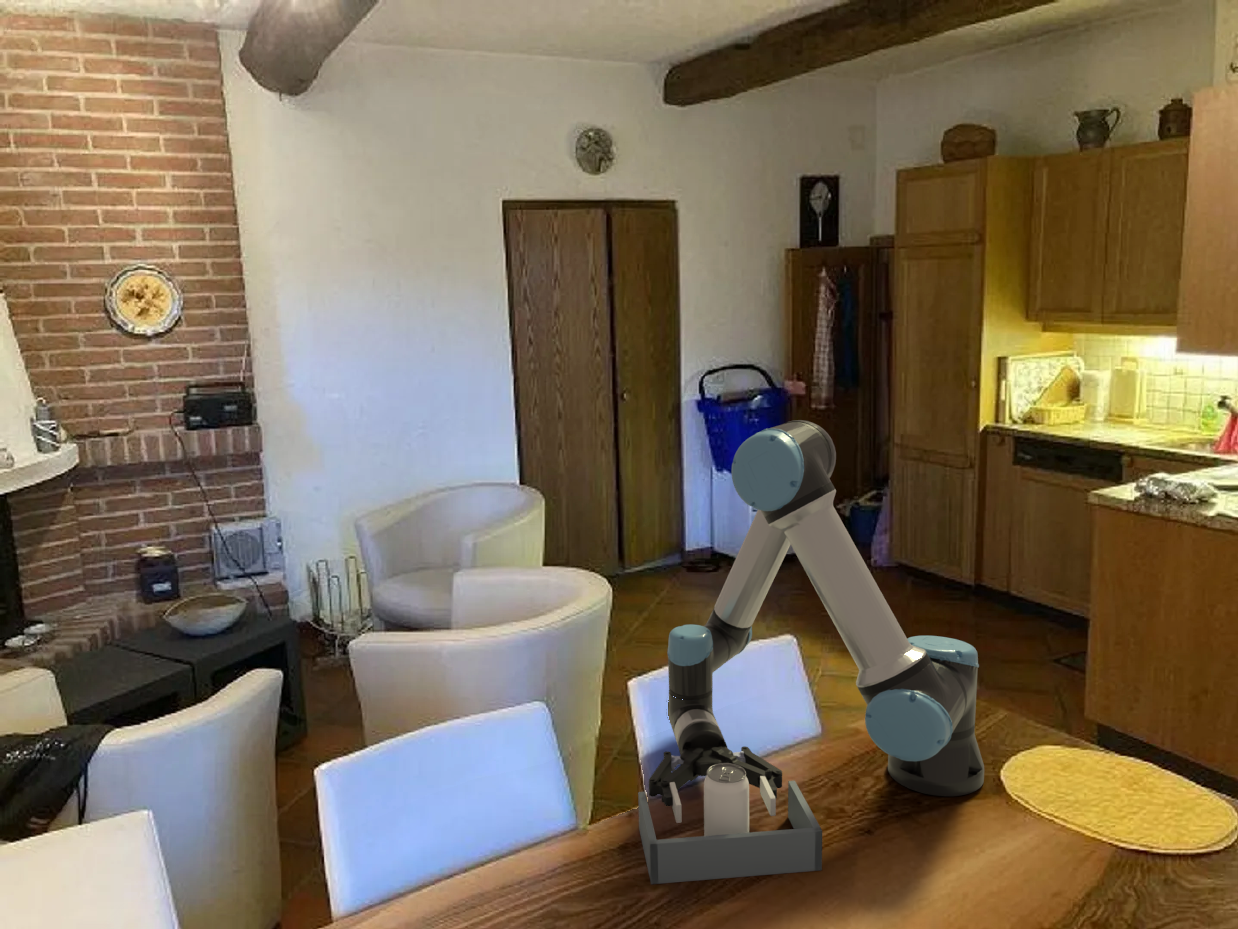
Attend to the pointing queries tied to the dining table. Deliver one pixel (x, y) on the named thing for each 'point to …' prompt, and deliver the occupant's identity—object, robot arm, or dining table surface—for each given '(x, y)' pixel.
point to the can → (726, 800)
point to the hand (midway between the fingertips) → (726, 810)
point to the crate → (734, 848)
